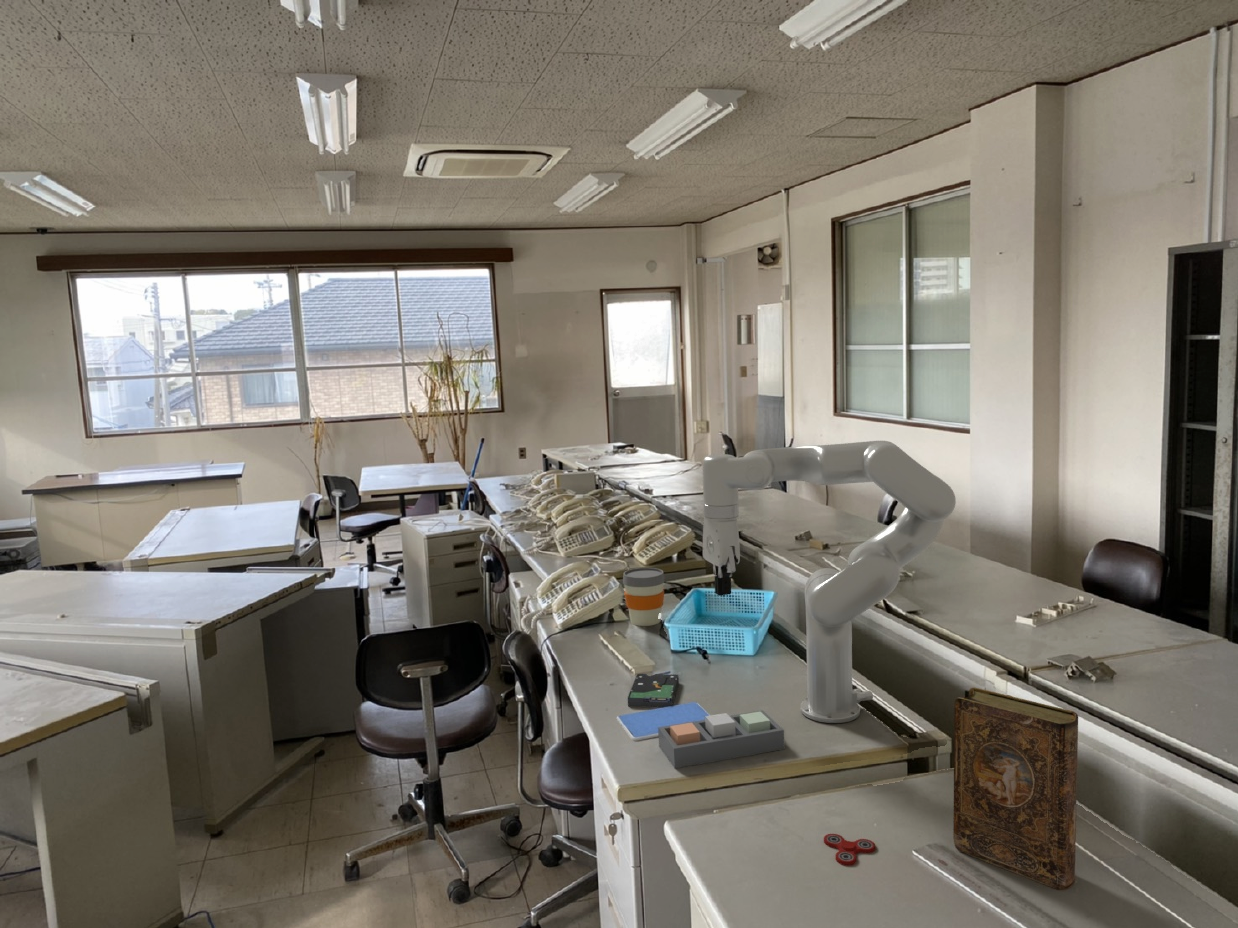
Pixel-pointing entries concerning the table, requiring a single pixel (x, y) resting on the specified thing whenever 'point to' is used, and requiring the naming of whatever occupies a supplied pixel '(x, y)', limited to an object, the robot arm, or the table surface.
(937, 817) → the table surface
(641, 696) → the disk drive
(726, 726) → the grey key
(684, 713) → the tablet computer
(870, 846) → the fidget spinner
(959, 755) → the book
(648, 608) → the reusable coffee cup
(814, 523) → the table surface
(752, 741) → the grey compartment tray
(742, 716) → the sage key
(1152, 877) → the table surface
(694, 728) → the terracotta key
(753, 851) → the table surface
